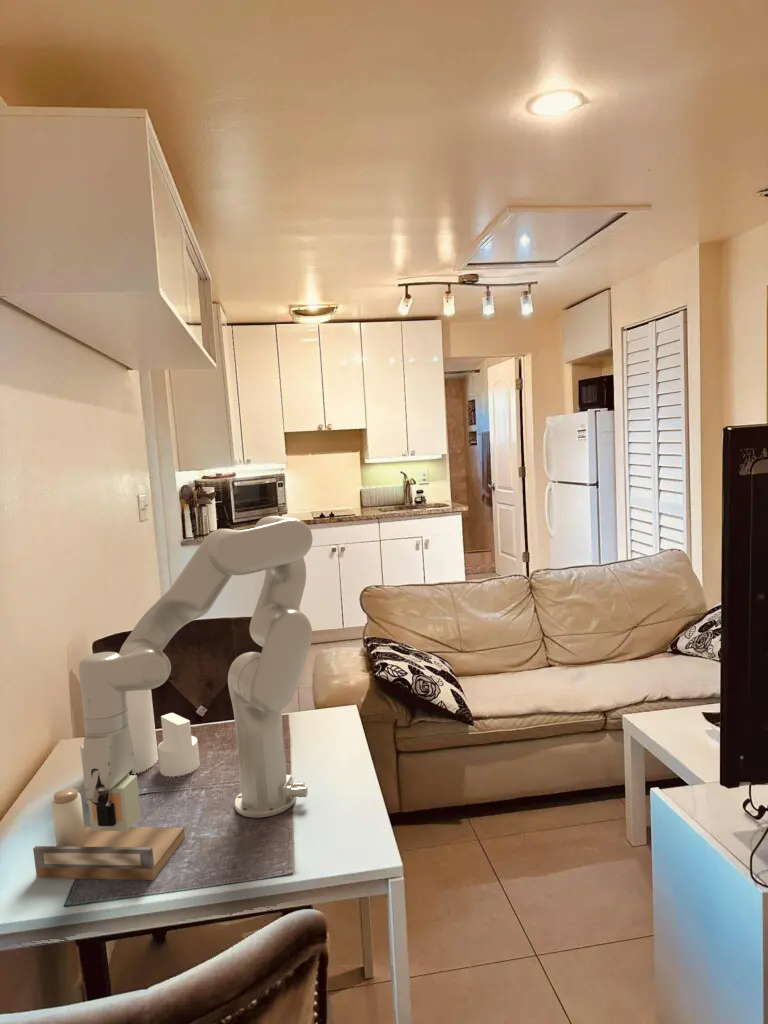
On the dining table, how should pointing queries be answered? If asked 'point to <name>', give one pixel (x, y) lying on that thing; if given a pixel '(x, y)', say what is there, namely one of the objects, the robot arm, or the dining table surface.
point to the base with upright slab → (177, 747)
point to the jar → (68, 818)
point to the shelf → (111, 854)
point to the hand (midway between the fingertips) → (115, 815)
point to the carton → (120, 805)
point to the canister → (142, 729)
